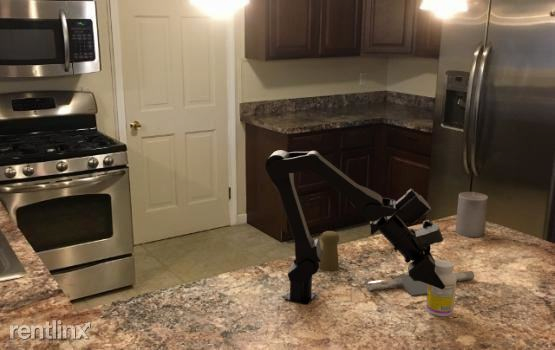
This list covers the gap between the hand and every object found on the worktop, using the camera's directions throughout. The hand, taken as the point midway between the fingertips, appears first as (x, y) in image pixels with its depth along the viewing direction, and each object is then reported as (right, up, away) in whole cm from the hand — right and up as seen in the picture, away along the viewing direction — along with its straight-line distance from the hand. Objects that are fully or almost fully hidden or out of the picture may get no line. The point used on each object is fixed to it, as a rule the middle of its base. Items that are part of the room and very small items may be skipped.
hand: (441, 280), depth 139 cm
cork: (-25, -2, +27) cm, 37 cm away
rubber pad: (-1, -4, +17) cm, 17 cm away
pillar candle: (+27, +5, +58) cm, 65 cm away
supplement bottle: (0, -8, +2) cm, 9 cm away
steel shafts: (-1, -4, +17) cm, 17 cm away
